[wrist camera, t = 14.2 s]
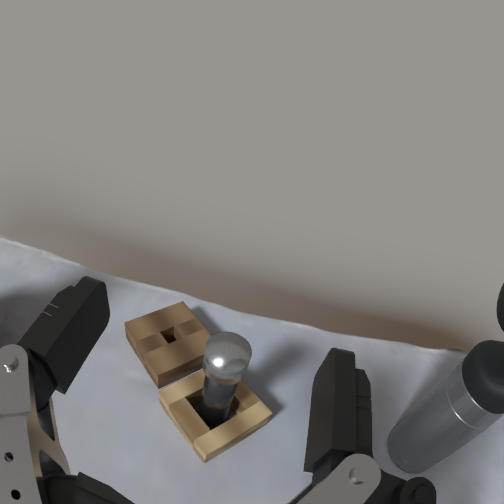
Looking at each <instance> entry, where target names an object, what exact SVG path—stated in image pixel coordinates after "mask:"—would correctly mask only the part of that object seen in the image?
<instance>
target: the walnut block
mask: <svg viewBox="0 0 504 504" xmlns="http://www.w3.org/2000/svg"><path fill="white" fill-rule="evenodd" d="M125 330H126V338H127V340H128V341H129V343H130V345H131V346H132V348H133V350H134V351H135V353H136V355H137V356H138V358H139V359H140V361H141V363H142V364H143V366H144V367H145V369H146V370H147V372H148V374H149V375H150V377H151V378H152V380H153V381H154V383H155V384H156V386H157V387H158V389H159V388H161V387H164V386H166V385H168V384H170V383H172V382H174V381H176V380H179V379H181V378H183V377H185V376H187V375H189V374H191V373H193V372H195V371H197V370H199V369H202V368H203V359H204V352H205V346H206V342H207V340H208V339H209V338H210V337H211V336H212V335H211V334H210V333H209V332H208V331H207V329H206V328H205V327H204V326H203V325H202V323H201V322H200V321H199V320H198V319H197V317H196V316H195V315H194V314H193V313H192V311H191V310H190V309H189V308H188V307H187V305H186V304H185V303H184V302H183V301H182V302H179V303H177V304H174V305H171V306H169V307H166V308H163V309H161V310H158V311H155V312H152V313H150V314H147V315H144V316H141V317H139V318H136V319H133V320H130V321H128V322H125ZM173 341H174V342H173ZM171 342H172V343H171ZM168 343H169V344H168Z"/></svg>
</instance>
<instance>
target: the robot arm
mask: <svg viewBox="0 0 504 504" xmlns="http://www.w3.org/2000/svg"><path fill="white" fill-rule="evenodd" d="M109 318H110V309H109V303H108V297H107V290H106V285H105V283H104V282H102V281H99V280H96V279H93V278H90V277H88V276H85V277H83V278H82V279H81V280H80V281H79V282H78V283H77V285H76V286H75V287H73V286H69V287H67V288H65V289H64V290H62V291H60V292H59V293H58V294H57V295H56V296H55V297H54V299H53V300H52V301H51V302H50V305H48V306H47V307H46V308H45V309H44V312H43V313H41V314H40V316H39V317H38V318H37V319H36V321H35V322H34V323H33V325H32V326H31V327H30V328H29V330H28V331H27V332H26V334H25V335H24V336H23V337H22V339H21V340H20V341H19V342H18V343H17V344H16V345H15V344H9V345H6V346H3V347H2V348H0V504H134V503H133V502H131V501H130V500H128V499H127V498H126V497H124V496H123V495H121V494H120V493H118V492H117V491H116V490H114V489H113V488H112V487H110V486H109V485H106V484H104V483H102V482H100V481H98V480H95V479H93V478H91V477H89V476H87V475H85V474H83V473H81V472H79V473H78V476H76V475H71V473H70V469H69V466H68V462H67V459H66V456H65V454H64V452H63V450H62V448H61V445H60V442H59V437H58V432H57V426H56V421H55V415H54V408H53V401H52V397H51V396H52V394H53V392H54V391H55V390H57V391H59V392H61V393H63V394H64V395H65V393H66V391H67V390H68V388H69V386H70V385H71V383H72V381H73V380H74V378H75V376H76V375H77V373H78V371H79V370H80V368H81V366H82V365H83V363H84V361H85V360H86V358H87V357H88V355H89V353H90V352H91V350H92V349H93V347H94V345H95V344H96V342H97V341H98V339H99V337H100V336H101V334H102V333H103V331H104V330H105V328H106V326H107V324H108V322H109ZM497 318H498V323H499V324H500V327H501V328H502V330H503V331H504V284H503V286H502V288H501V291H500V293H499V298H498V301H497ZM370 398H371V388H370V382H369V380H368V377H367V375H366V373H365V371H364V370H361V369H356V368H355V354H354V352H351V351H346V350H342V349H337V348H331V350H330V351H329V353H328V355H327V356H326V358H325V360H324V361H323V363H322V365H321V366H320V368H319V369H318V371H317V373H316V375H315V378H314V382H313V387H312V398H311V408H310V419H309V429H308V438H307V447H306V455H305V463H304V471H305V472H312V473H313V477H312V482H311V483H310V484H309V485H308V486H307V487H305V488H304V489H303V490H302V491H301V492H300V493H299V494H298V495H297V496H295V497H294V498H293V499H292V500H291V501H290V502H289V503H287V504H436V490H435V487H434V485H433V484H432V483H431V482H430V481H429V480H428V479H426V478H423V477H415V478H412V479H410V480H408V481H406V480H404V479H401V478H398V477H396V476H393V475H391V474H388V473H386V472H384V471H383V470H381V469H380V467H379V465H378V464H377V462H376V461H375V460H374V458H373V454H372V412H371V400H370ZM502 415H504V342H500V341H494V340H488V341H483V342H481V343H479V344H477V345H476V346H475V347H474V348H473V349H472V350H471V352H470V353H469V354H468V355H467V356H466V357H465V358H464V360H463V361H462V362H461V363H460V364H459V365H458V366H457V367H456V369H455V370H454V371H453V372H452V373H451V374H450V375H449V376H448V377H447V378H446V379H445V380H444V381H443V382H442V383H441V385H440V386H439V387H438V388H437V389H436V390H435V391H434V392H433V393H432V394H431V395H430V396H428V397H427V398H426V399H425V400H424V401H423V402H422V403H421V404H420V405H419V406H418V407H417V408H416V409H415V410H414V411H413V412H411V413H410V414H409V415H408V416H407V417H406V418H405V419H403V420H402V421H401V422H400V423H399V424H398V425H397V426H395V427H394V429H393V430H392V431H391V433H390V435H389V439H388V449H389V453H390V456H391V458H392V460H393V461H394V463H395V464H396V465H397V466H398V467H399V468H401V469H402V470H404V471H407V472H410V473H419V472H422V471H425V470H426V469H428V468H430V467H431V466H433V465H435V464H436V463H438V462H439V461H441V460H443V459H444V458H446V457H447V456H449V455H450V454H452V453H453V452H455V451H456V450H458V449H459V448H461V447H462V446H464V445H465V444H466V443H468V442H469V441H471V440H472V439H473V438H475V437H476V436H477V435H479V434H480V433H481V432H483V431H484V430H485V429H487V428H488V427H489V426H490V425H491V424H493V423H494V422H495V421H496V420H498V419H499V418H500V417H501V416H502Z"/></svg>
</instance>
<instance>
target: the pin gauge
mask: <svg viewBox="0 0 504 504" xmlns="http://www.w3.org/2000/svg"><path fill="white" fill-rule="evenodd" d="M251 356H252V349H251V346H250V344H249V343H248V341H247V340H246V339H245V338H243V337H242V336H240V335H238V334H236V333H232V332H219V333H216V334H214V335H212V336H211V337H210V338H209V339H208V340H207V342H206V346H205V352H204V359H203V370H204V373H205V378H204V384H203V391H202V397H201V403H200V410H199V416H200V418H201V419H202V420H203V421H204V423H205V424H206V425H207V426H208V427H210V428H216V427H218V426H220V425H221V424H223V423H225V421H226V419H227V416H228V413H229V410H230V407H231V404H232V401H233V397H234V394H235V391H236V388H237V385H238V382H239V381H241V380H242V379H243V378H244V376H245V374H246V371H247V368H248V365H249V362H250V359H251Z"/></svg>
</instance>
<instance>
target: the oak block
mask: <svg viewBox="0 0 504 504" xmlns="http://www.w3.org/2000/svg"><path fill="white" fill-rule="evenodd" d="M204 378H205V373H204V370H201V371H199V372H197V373H195V374H193V375H191V376H189V377H187V378H184V379H182V380H180V381H178V382H176V383H174V384H172V385H170V386H167V387H165V388H163V389H161V390H159V400H160V404H161V406H162V407H163V409H164V410H165V411H166V413H167V414H168V416H169V417H170V419H171V420H172V421H173V423H174V424H175V426H176V427H177V428H178V430H179V431H180V432H181V434H182V435H183V436H184V438H185V439H186V440H187V442H188V443H189V444H190V446H191V447H192V448H193V450H194V451H195V452H196V453H197V455H198V456H199V457H200V458H201V460H202V461H203V462H204V463H205V462H207V461H209V460H210V459H212V458H214V457H216V456H217V455H219V454H221V453H222V452H224V451H225V450H227V449H229V448H230V447H232V446H234V445H235V444H237V443H238V442H240V441H241V440H243V439H245V438H246V437H248V436H249V435H251V434H252V433H254V432H255V431H257V430H258V429H260V428H261V427H263V426H264V425H266V424H267V422H268V420H269V419H270V417H271V415H272V412H271V411H270V410H269V409H268V408H267V407H266V406H265V404H264V403H263V402H262V401H261V400H260V399H259V398H258V397H257V396H256V395H255V394H254V393H253V392H252V390H251V389H250V388H249V387H248V386H247V385H246V384H245V383H244V382H243V380H241V381H239V382H238V385H237V388H236V391H235V394H234V397H233V401H232V404H231V407H230V408H231V409H232V410H233V411H234V412H235V413H236V416H235V417H233V418H231V419H230V420H228V421H226V422H225V423H223V424H221V425H220V426H218V427H216V428H214V429H213V430H210V429H209V428H208V426H207V425H206V424H205V423H204V421H203V420H202V419H201V418H200V416H199V415H198V414H197V412H196V411H195V410H194V409H193V407H192V406H191V405H193V404H195V403H197V402H199V401H200V400H201V397H202V391H203V384H204Z"/></svg>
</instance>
